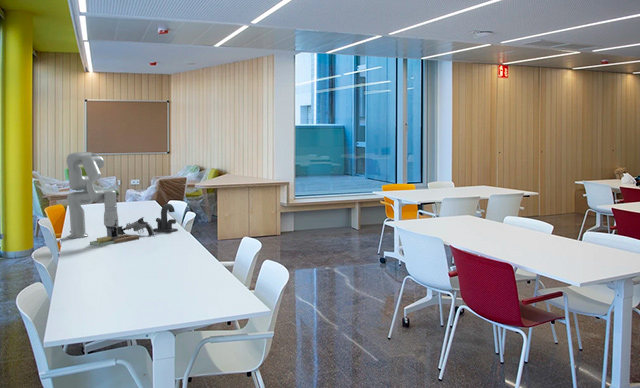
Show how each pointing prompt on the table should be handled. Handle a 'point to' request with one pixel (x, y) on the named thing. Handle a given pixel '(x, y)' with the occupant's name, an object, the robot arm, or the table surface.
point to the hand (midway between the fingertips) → (112, 236)
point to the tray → (101, 243)
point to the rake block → (109, 233)
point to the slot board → (125, 238)
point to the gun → (137, 227)
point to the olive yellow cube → (108, 238)
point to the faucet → (165, 220)
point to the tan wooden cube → (101, 240)
